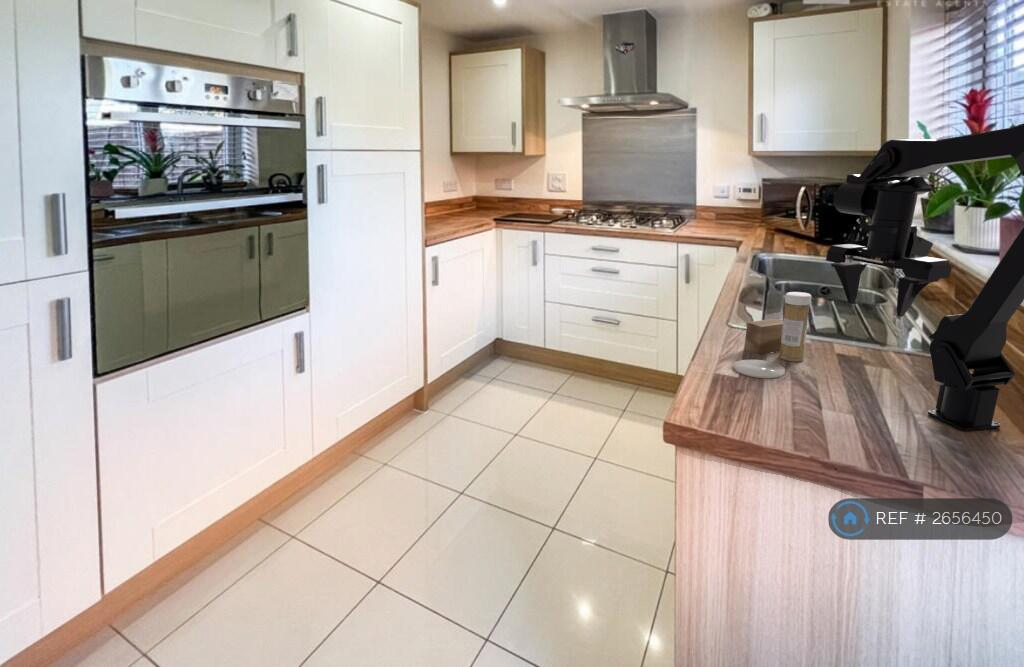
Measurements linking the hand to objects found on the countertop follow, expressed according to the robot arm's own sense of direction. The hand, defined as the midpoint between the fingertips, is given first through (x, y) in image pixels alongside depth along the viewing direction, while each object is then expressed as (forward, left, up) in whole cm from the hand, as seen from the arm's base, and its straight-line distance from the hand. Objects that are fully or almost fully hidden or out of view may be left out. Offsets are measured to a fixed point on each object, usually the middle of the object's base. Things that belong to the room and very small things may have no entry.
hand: (874, 309), depth 102 cm
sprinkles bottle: (+14, +5, -13) cm, 20 cm away
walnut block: (+20, +6, -13) cm, 25 cm away
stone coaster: (+9, +15, -13) cm, 22 cm away
